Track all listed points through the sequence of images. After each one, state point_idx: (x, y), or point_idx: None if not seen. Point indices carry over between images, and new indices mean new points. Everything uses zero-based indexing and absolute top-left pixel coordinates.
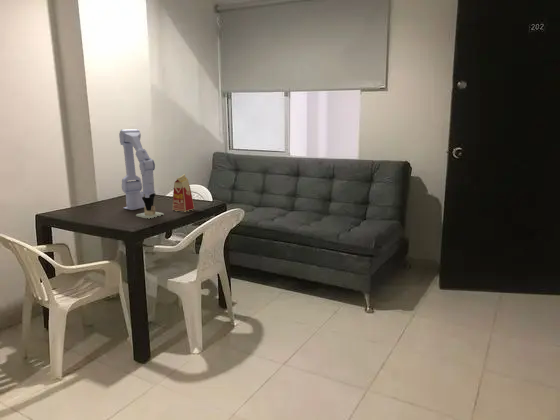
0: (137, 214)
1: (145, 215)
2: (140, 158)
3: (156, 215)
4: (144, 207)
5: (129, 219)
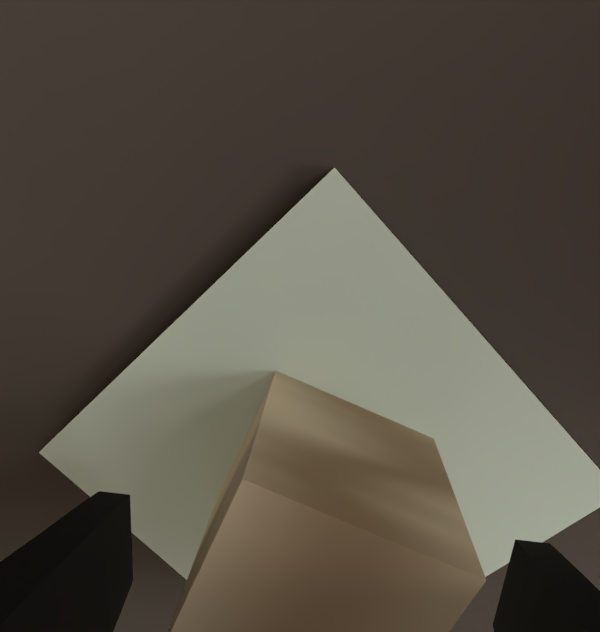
0: (318, 205)
1: (177, 387)
2: None
3: (182, 567)
4: (245, 475)
5: (37, 28)
